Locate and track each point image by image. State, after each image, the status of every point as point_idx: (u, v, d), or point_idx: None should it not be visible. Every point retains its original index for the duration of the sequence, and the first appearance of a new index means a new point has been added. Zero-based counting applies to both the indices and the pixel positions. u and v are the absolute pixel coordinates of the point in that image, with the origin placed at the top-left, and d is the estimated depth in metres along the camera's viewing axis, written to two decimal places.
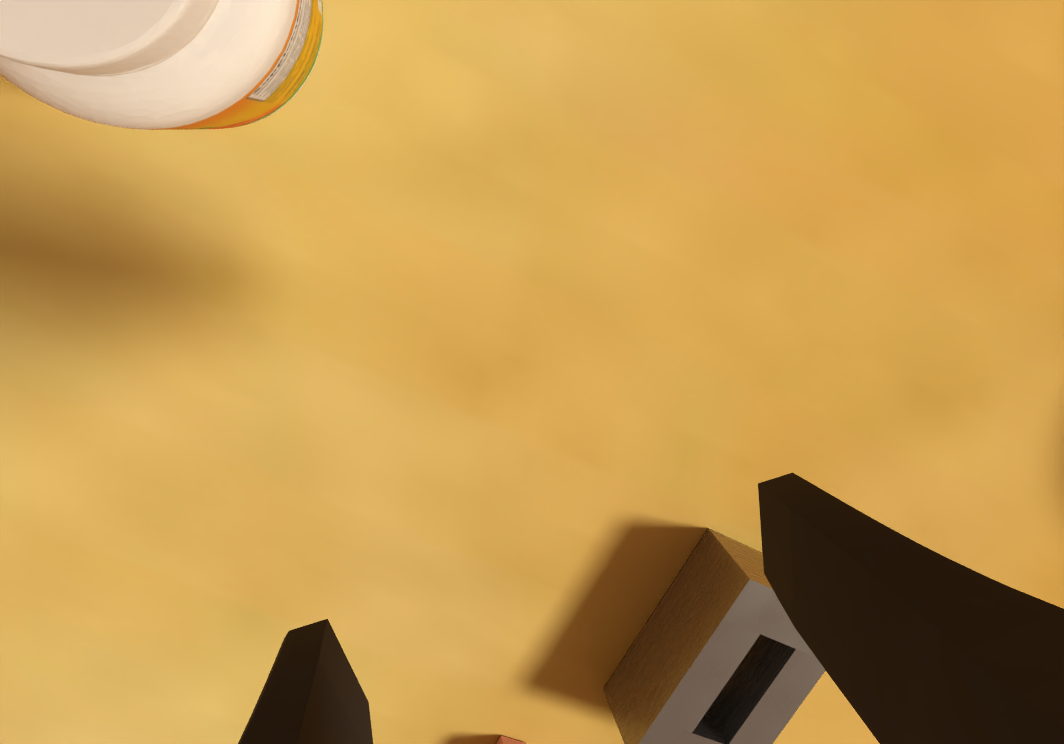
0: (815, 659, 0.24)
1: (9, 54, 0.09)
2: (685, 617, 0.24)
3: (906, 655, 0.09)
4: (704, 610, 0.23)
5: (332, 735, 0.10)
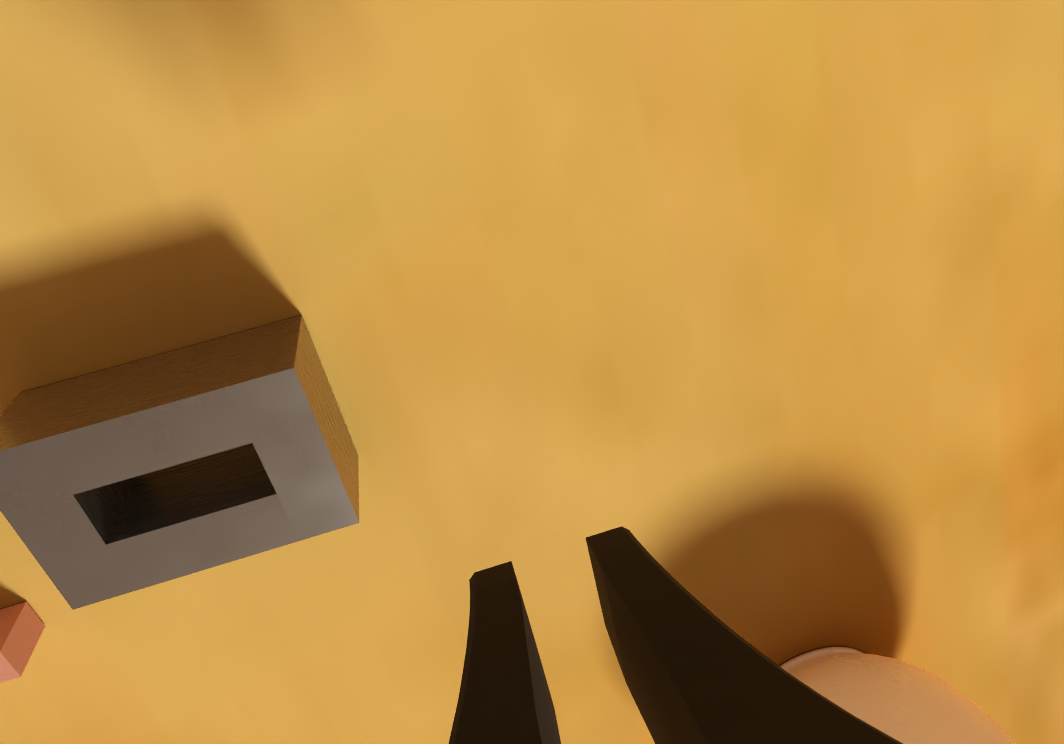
0: (287, 523, 0.18)
1: None
2: (188, 370, 0.17)
3: (683, 731, 0.09)
4: (215, 372, 0.17)
5: (537, 668, 0.10)
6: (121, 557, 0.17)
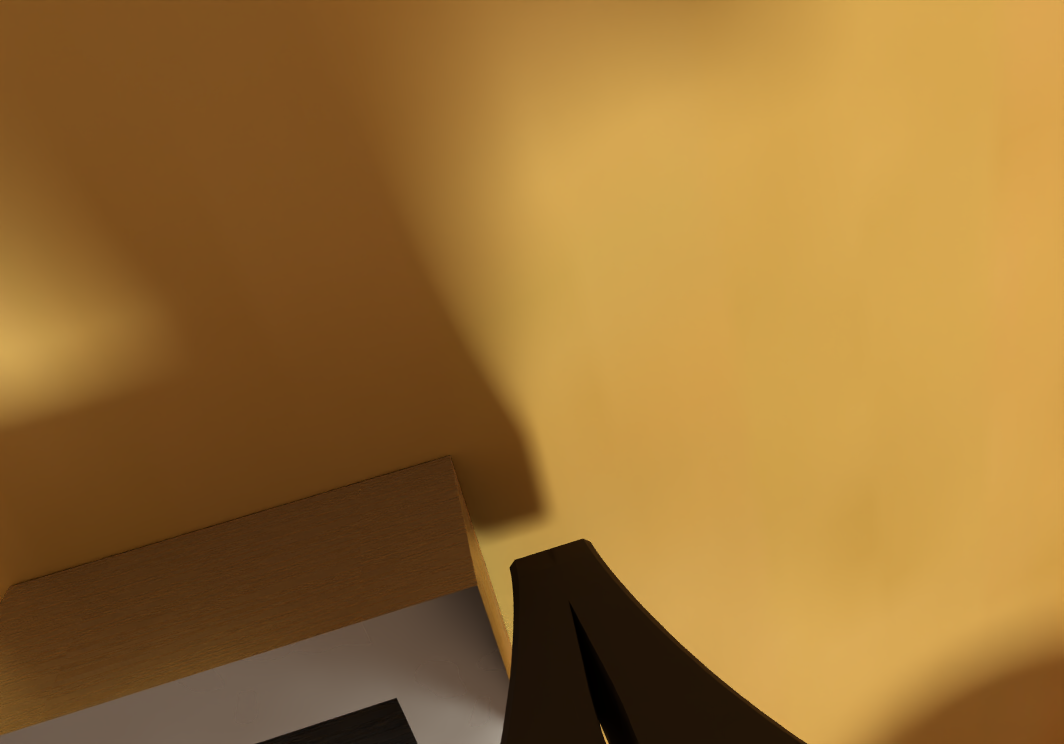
0: None
1: None
2: (285, 568, 0.10)
3: None
4: (336, 580, 0.10)
5: (581, 653, 0.10)
6: None
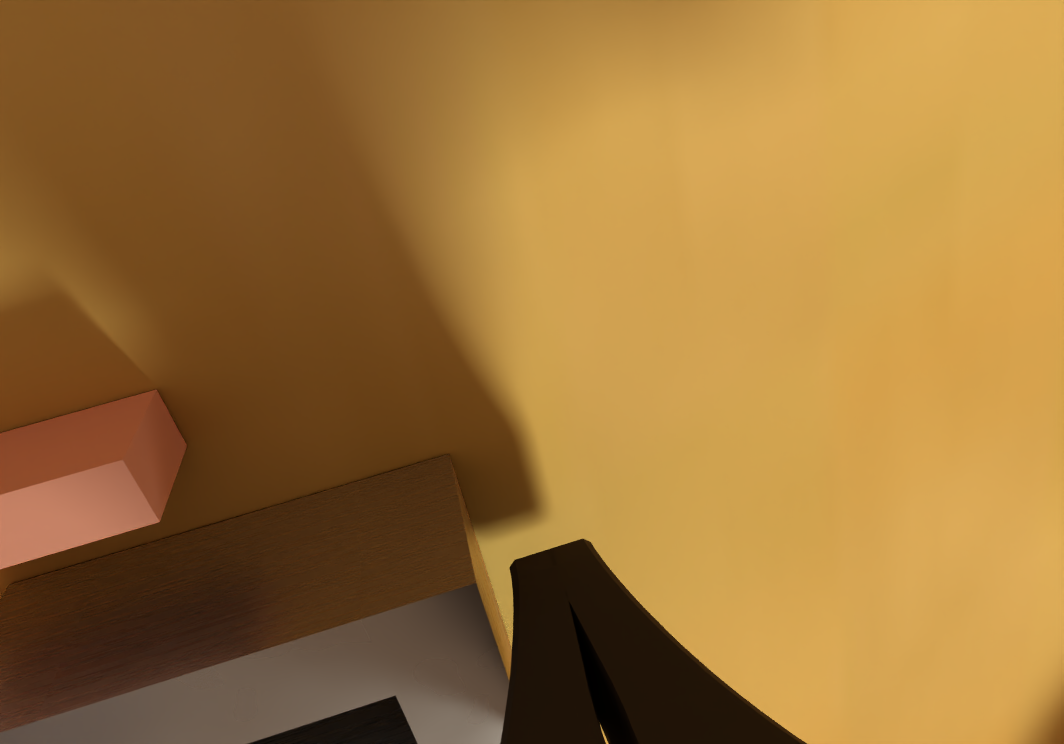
0: None
1: None
2: (284, 566, 0.10)
3: None
4: (334, 578, 0.10)
5: (581, 653, 0.10)
6: None
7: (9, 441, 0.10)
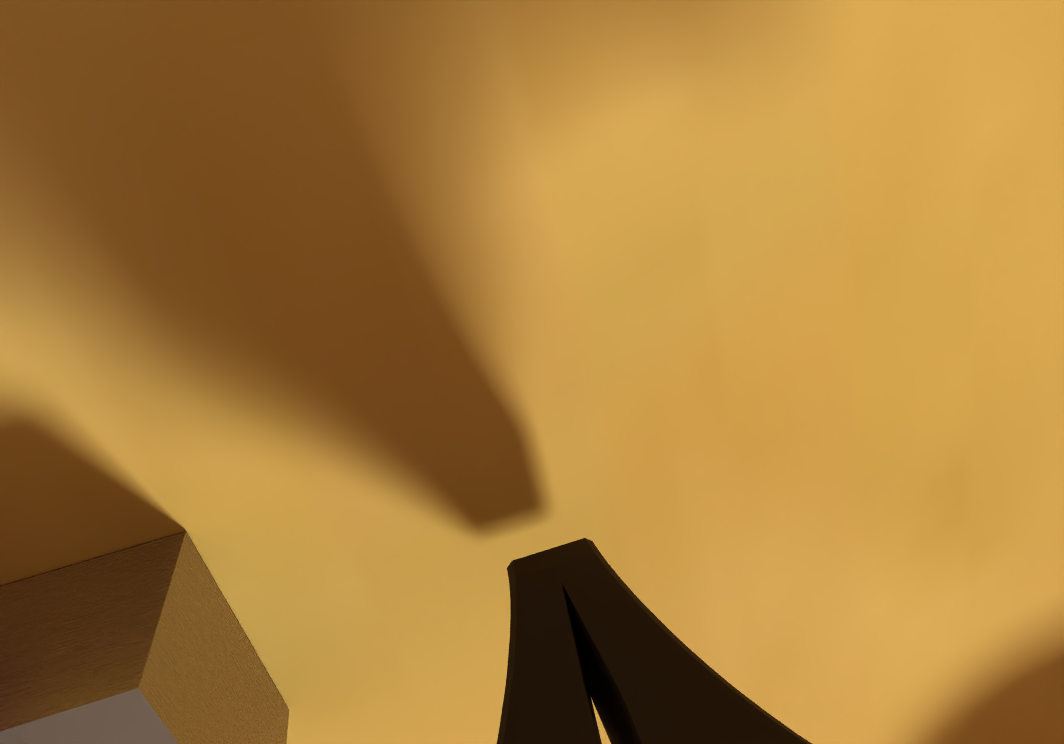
0: None
1: None
2: None
3: None
4: (13, 676, 0.10)
5: (578, 654, 0.10)
6: None
7: None
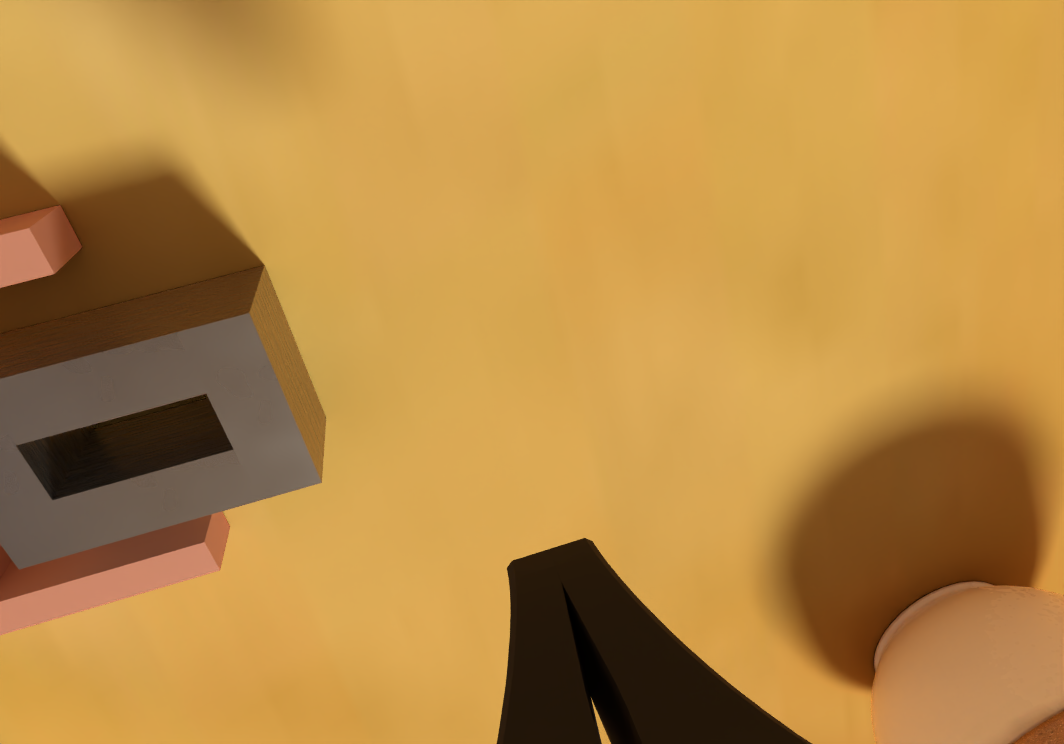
0: (245, 481, 0.17)
1: None
2: (140, 318, 0.16)
3: None
4: (168, 319, 0.16)
5: (578, 654, 0.10)
6: (69, 514, 0.16)
7: None
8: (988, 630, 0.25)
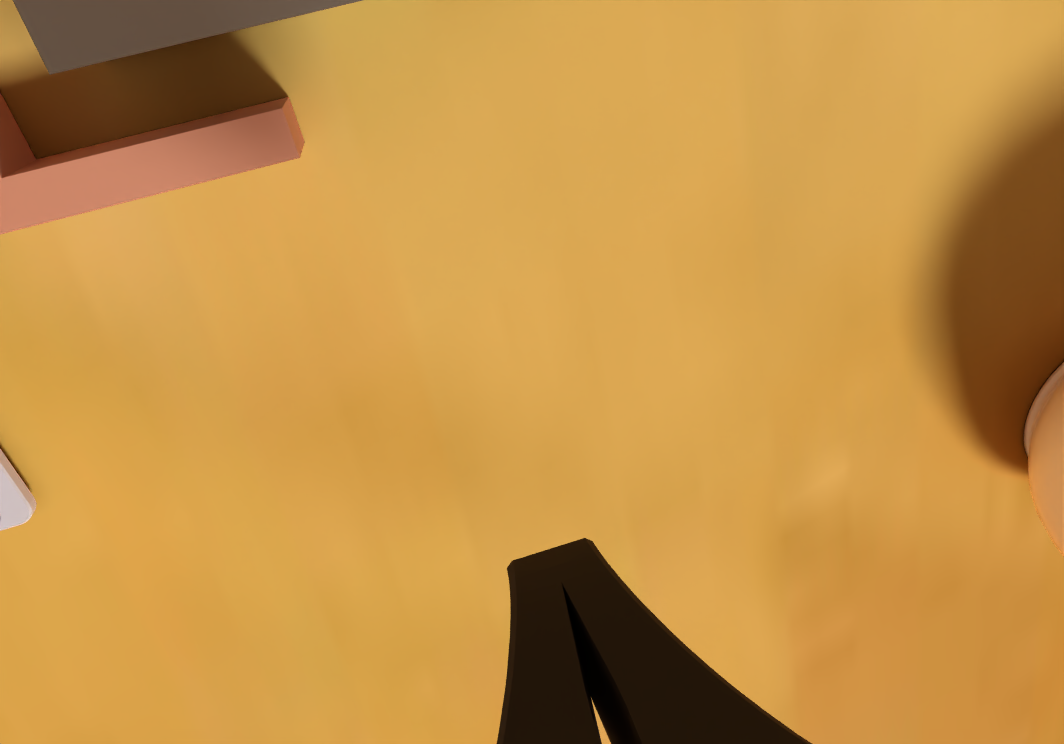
0: None
1: None
2: None
3: None
4: None
5: (578, 654, 0.10)
6: None
7: None
8: None
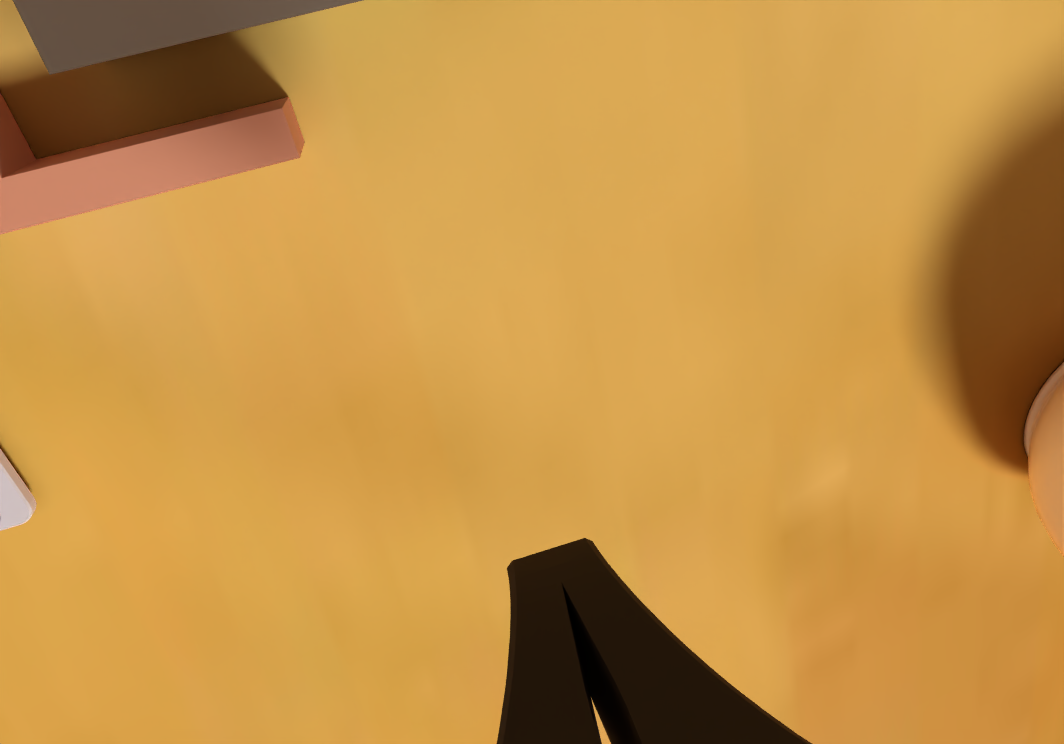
0: None
1: None
2: None
3: None
4: None
5: (578, 654, 0.10)
6: None
7: None
8: None
